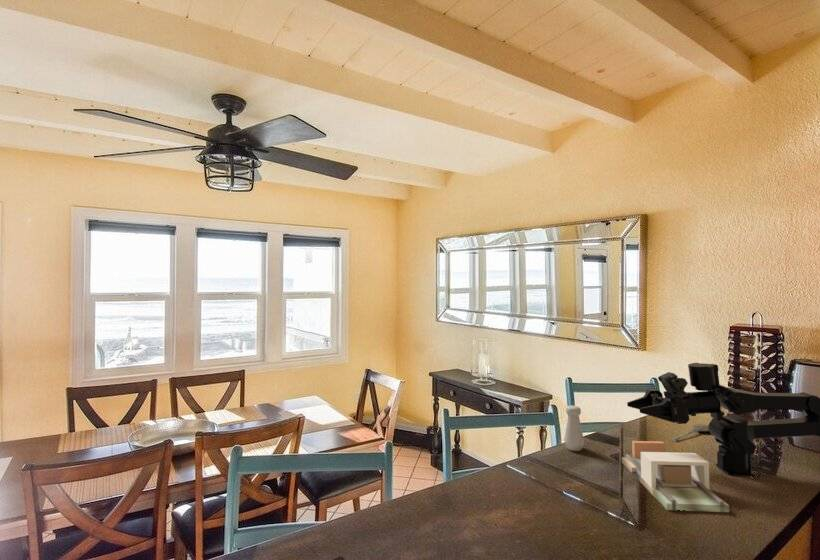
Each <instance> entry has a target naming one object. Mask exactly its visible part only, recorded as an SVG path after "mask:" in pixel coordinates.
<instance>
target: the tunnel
mask: <svg viewBox="0 0 820 560" xmlns="http://www.w3.org/2000/svg"><path fill="white" fill-rule="evenodd" d="M656 465H689V466H690V467H691V476H692V477H694V478H695V479H696V480H697V481H699V482H700V483H701V484H702V485H704V486H705V487H706V488H707V489H709V490H710V463H709V461H708V460H706V459H705V458H703V457H702V456H700V455H699V454H697V453H696V452H677V451H676V452H673V451H672V452H668V451H665V452H641V477H642V478H643V479H644V480H645V482H646V483H647V484H648V485H649V486H650V487H651V488H656Z"/></svg>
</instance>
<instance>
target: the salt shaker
mask: <svg viewBox="0 0 820 560" xmlns="http://www.w3.org/2000/svg"><path fill="white" fill-rule="evenodd" d="M565 413H566V415H567V421H566V426H565V432H564V437H563V441H564V443H565V446H566V449H567V450H569V451H572V452H580V451H582V449H583V447H584V444H585V441H584V440H585V439H584V434H583V430H582V426H581V420H580V415H581V413H582V410H581V408H580V406H577V405H571V404H570V405H567V406H566V407H565Z"/></svg>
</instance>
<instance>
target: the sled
mask: <svg viewBox="0 0 820 560" xmlns="http://www.w3.org/2000/svg"><path fill="white" fill-rule="evenodd" d="M631 448H632V449H631V451H632V453H631V454H632V455H631V457H632V458H633V459H634V460H635V461H636V462H637V463H638V464H639V465H640V466H641V452H666V444H665V442H664V441H660V440H659V441H656V440H655V441H651V440H647V441H646V440H631ZM656 481H657V482H658V483H659V484H660V485H661V486H662V487H696V488H697V485H696V484H695V483H694V482H693V481H692V480H691V465H656Z"/></svg>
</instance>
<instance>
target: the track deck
mask: <svg viewBox="0 0 820 560" xmlns="http://www.w3.org/2000/svg"><path fill="white" fill-rule="evenodd" d="M621 463H622V465H624V466H625V468H627V470H628V471H629V472H630V473H631V474H632V475H633V476H634V477H635V478H636V479H637V480H638V482H640V484H642V485H643V487H644V488H645V489H646V490H647V491H648V492H649V493H650V494H651V495H652V496H653V497H654V499H656V500H657V501H658V502H659V504H660V505H661V506H663V508H664V509H665V510H666V511H677V510H680V511H681V512H685V511H686V512H709V513H710V512H712V513H730V505H729V503H727V502H726V501H725V500H723V499H722V498H720V497H719V496H718V495H717V494H715V493H714V492H713V491H712V490H711V489H710V488H709V489H707V488H706V487H705V486H704V485H702V484H701V483H700V482H699V481H697V480H696V479H695V478H694V477H692V476H691V480H692V481H693V482H694V483H695V484H696V485H697V488H696V487H662V486H661V485H660V484H659V483H658V482H657V481H656V488H651V487H650V486H649V485H648V484H647V483H646V482H645V480H644V479H643V478H642V477H641V466H640V465H639V464H638V463H637V462H636V461H635V460H634V459H633V458H632V455H630V454H625V456H624V457H623V456H622V457H621ZM683 510H685V511H683Z"/></svg>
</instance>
